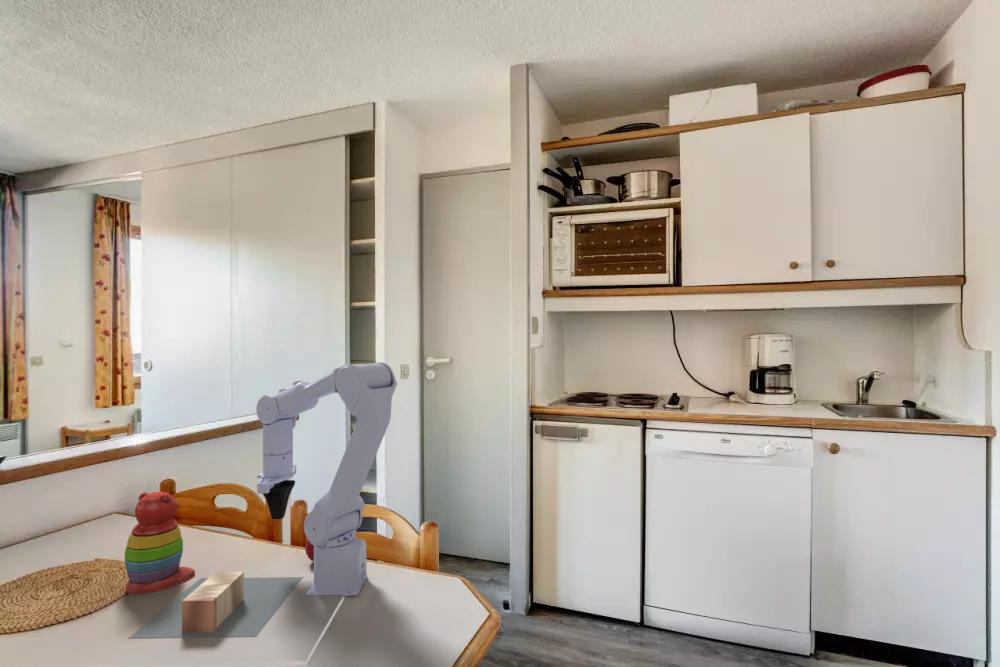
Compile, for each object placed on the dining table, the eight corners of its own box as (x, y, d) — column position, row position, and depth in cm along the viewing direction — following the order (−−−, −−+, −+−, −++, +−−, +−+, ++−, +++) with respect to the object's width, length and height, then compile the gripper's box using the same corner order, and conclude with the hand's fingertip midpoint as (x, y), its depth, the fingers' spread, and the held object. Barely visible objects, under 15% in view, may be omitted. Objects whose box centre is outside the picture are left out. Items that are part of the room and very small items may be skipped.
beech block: (243, 571, 91) (213, 600, 81) (243, 599, 91) (213, 631, 81) (215, 572, 91) (181, 600, 81) (215, 600, 91) (181, 632, 81)
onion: (325, 571, 104) (324, 532, 104) (299, 568, 105) (299, 530, 105) (339, 559, 109) (339, 521, 109) (315, 556, 110) (315, 520, 111)
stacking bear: (200, 575, 102) (200, 486, 102) (154, 600, 92) (154, 502, 92) (158, 569, 105) (158, 483, 105) (108, 593, 95) (109, 497, 95)
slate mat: (303, 579, 100) (303, 577, 100) (255, 639, 80) (255, 636, 80) (200, 580, 100) (200, 578, 100) (127, 641, 80) (127, 638, 80)
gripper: (273, 445, 112) (273, 506, 112) (241, 460, 98) (241, 531, 98) (305, 444, 112) (305, 506, 112) (278, 460, 98) (278, 531, 98)
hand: (278, 518), depth 105 cm, fingers closed
